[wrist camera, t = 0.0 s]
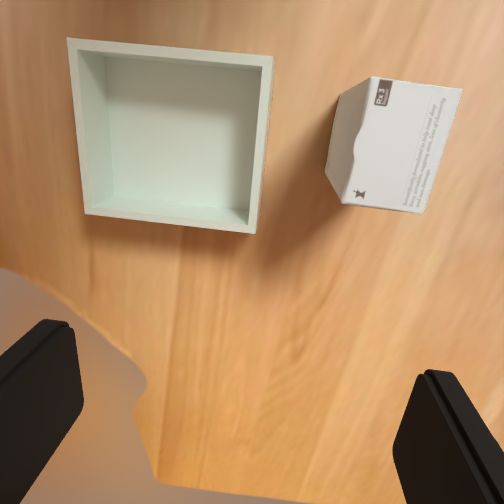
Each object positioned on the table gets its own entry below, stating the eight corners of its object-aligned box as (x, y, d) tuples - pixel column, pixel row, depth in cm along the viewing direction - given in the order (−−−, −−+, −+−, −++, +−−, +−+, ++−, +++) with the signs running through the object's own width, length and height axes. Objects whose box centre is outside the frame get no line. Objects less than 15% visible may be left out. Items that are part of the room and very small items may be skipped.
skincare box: (375, 180, 37) (426, 223, 24) (320, 172, 38) (338, 209, 24) (398, 95, 34) (473, 88, 20) (337, 87, 34) (370, 74, 21)
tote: (101, 48, 35) (66, 37, 29) (275, 64, 34) (273, 56, 28) (112, 199, 41) (84, 213, 35) (259, 216, 40) (255, 233, 35)
